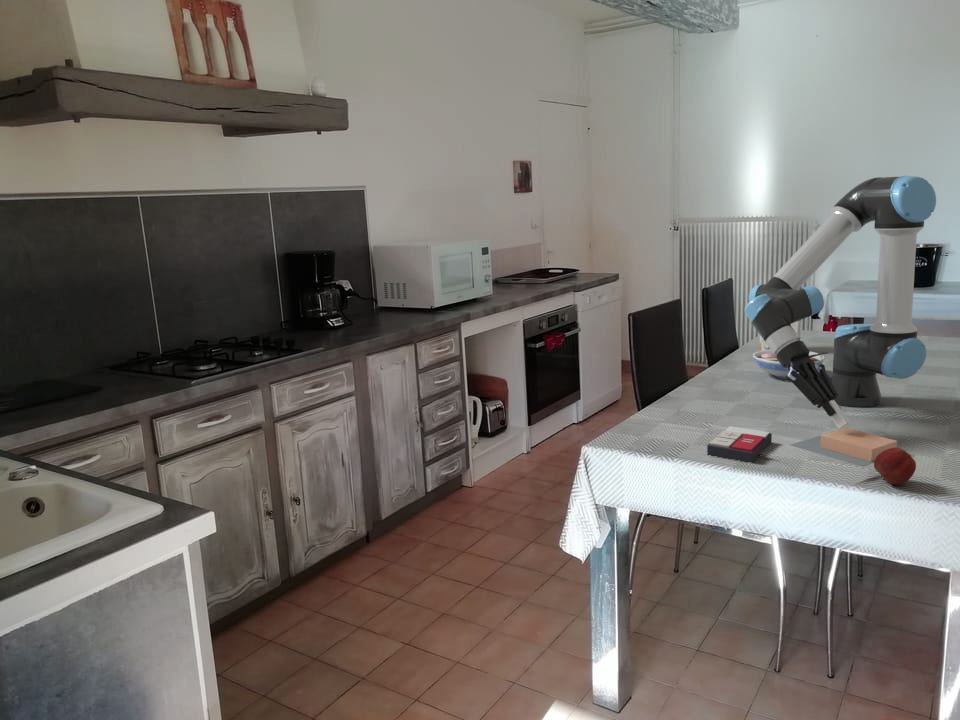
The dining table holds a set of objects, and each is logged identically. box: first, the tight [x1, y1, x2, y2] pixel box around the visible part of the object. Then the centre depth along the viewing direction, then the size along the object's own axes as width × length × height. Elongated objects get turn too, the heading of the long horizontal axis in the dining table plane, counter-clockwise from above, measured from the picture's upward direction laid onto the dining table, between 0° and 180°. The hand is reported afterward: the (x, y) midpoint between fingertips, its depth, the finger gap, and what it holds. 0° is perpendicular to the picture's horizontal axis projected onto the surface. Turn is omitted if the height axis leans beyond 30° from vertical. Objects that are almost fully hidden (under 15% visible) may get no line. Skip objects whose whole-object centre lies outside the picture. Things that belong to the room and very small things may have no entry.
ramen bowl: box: [752, 349, 828, 380], centre depth 257 cm, size 25×23×8 cm
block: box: [820, 427, 898, 462], centre depth 181 cm, size 10×3×13 cm
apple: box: [873, 446, 917, 486], centre depth 162 cm, size 7×8×8 cm
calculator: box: [706, 425, 773, 463], centre depth 186 cm, size 11×4×15 cm
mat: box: [790, 432, 908, 467], centre depth 183 cm, size 18×19×1 cm
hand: (844, 425), depth 183 cm, fingers closed
